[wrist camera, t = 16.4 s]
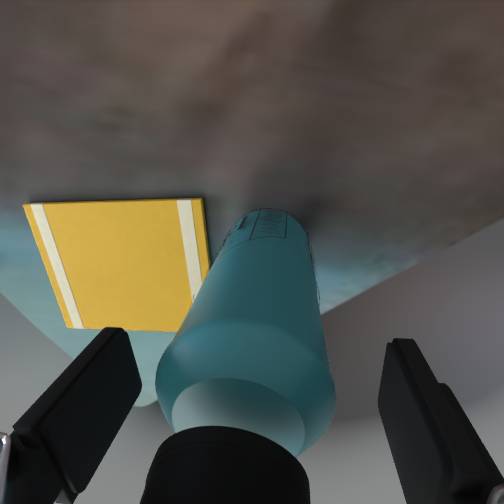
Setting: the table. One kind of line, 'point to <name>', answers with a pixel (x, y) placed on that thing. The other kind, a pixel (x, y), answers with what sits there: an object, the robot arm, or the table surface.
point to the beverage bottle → (246, 375)
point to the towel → (123, 260)
